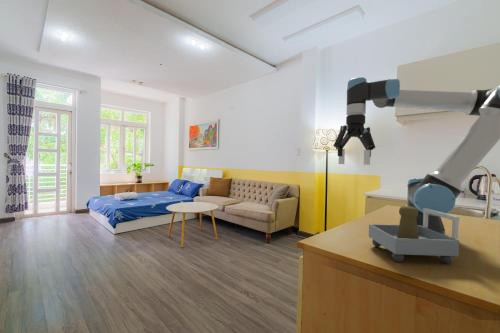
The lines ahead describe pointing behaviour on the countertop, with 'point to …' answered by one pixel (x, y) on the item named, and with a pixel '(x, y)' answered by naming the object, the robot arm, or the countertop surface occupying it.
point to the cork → (408, 223)
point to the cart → (426, 243)
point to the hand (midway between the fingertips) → (354, 164)
